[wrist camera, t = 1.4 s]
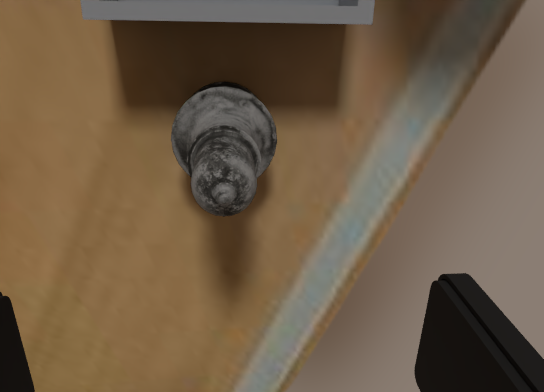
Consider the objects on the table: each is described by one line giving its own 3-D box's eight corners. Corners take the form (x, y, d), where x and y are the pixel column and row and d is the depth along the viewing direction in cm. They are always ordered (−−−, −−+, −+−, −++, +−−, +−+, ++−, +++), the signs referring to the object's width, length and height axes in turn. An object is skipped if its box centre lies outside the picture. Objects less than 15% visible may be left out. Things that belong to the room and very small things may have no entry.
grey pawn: (273, 78, 27) (306, 129, 16) (268, 169, 29) (294, 267, 18) (176, 74, 26) (140, 124, 15) (178, 167, 29) (149, 268, 18)
